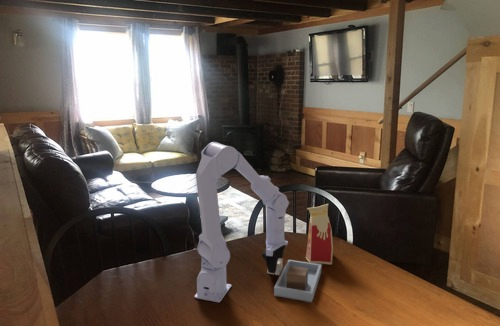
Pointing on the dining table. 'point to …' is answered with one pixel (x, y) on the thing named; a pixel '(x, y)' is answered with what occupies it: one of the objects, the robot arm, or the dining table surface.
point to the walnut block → (297, 278)
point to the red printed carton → (319, 236)
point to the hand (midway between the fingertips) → (275, 266)
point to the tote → (295, 294)
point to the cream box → (278, 268)
